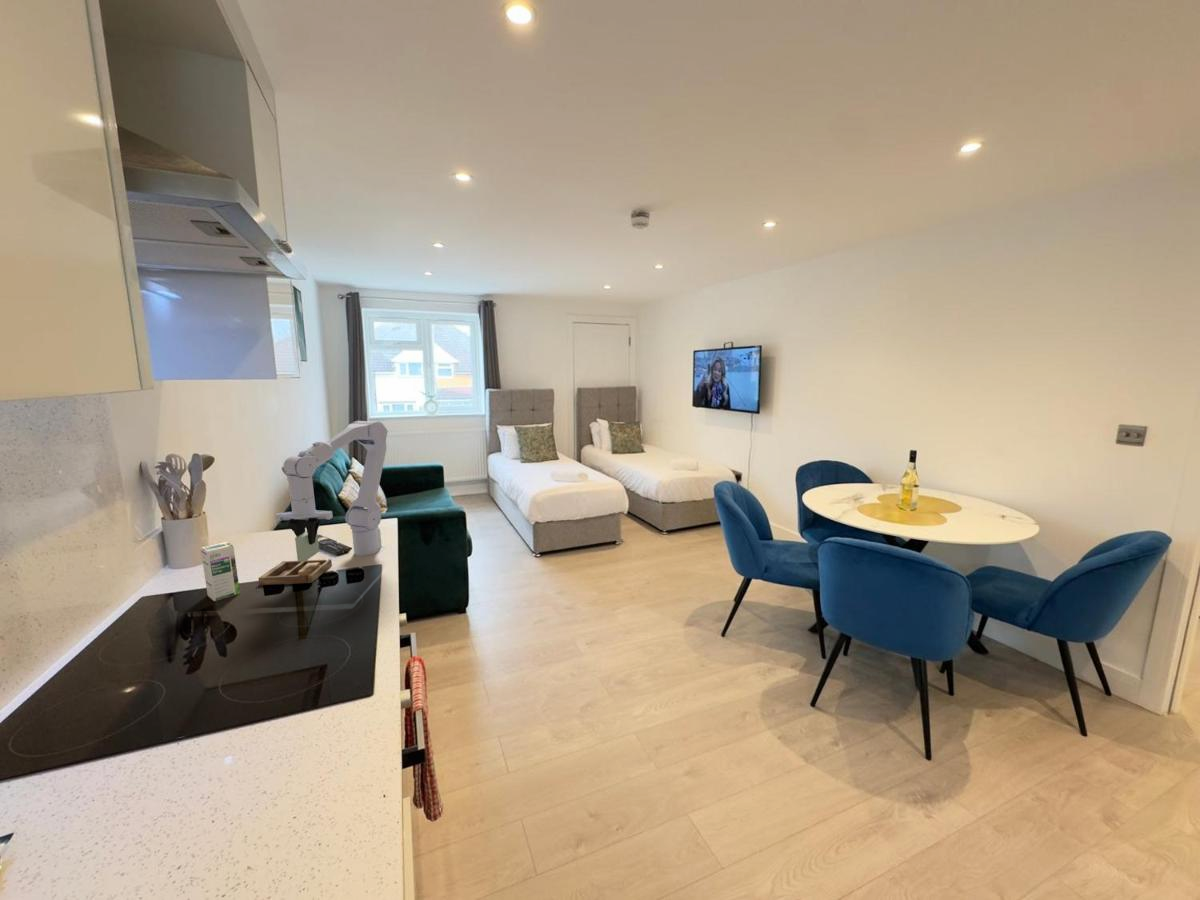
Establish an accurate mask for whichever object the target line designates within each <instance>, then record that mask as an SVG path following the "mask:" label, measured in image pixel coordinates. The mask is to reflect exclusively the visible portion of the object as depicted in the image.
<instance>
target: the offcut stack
mask: <svg viewBox="0 0 1200 900" xmlns="http://www.w3.org/2000/svg"><path fill="white" fill-rule="evenodd" d="M320 566H321V565H320V562H317V563H307V564H306V565H305V566H304V567H303V568H302V569H301V570H299V571H298V575H307V577H308V576H309V575H310V574H311V573H313V572H314V571H315V570H316V569H317V568H319V567H320ZM308 579H309V577H308Z"/></svg>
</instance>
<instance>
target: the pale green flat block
mask: <svg viewBox="0 0 1200 900" xmlns="http://www.w3.org/2000/svg"><path fill="white" fill-rule="evenodd" d="M294 541H295V550H296V558H297V561H298V562H305V561H307V560H310V559H311V558H313V556H315V555H317V554H318V553H319V552H320V543H319V535H318V533H317V534H316V540H315V543H313V544H312V545H309V541H308V533H307V530H305V532H304V533H303V534H301V535H299V536H298V537H294Z"/></svg>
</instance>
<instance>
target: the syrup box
mask: <svg viewBox="0 0 1200 900" xmlns="http://www.w3.org/2000/svg"><path fill="white" fill-rule="evenodd" d="M199 549H200V555H201V561H202V562H201V563H202V567H203V573H204V580H205V586H206V593H207V596H208V598H210V599H211V600H212V601H213V602H217V601H221V600H223V599H226V598H230V597H232V596H236V595H239V594H241V589H240V582H239V577H238V570H237V569H238V568H237V562H236V555H235V548H234V545H233V544H231V542H228V541H224V542H221V543H216V544H211V545H207V546H202V547H201V548H199Z"/></svg>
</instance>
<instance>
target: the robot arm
mask: <svg viewBox="0 0 1200 900" xmlns="http://www.w3.org/2000/svg"><path fill="white" fill-rule="evenodd" d="M388 433H389V432H388V429H387V428H386V426H385V425H384V423H383V422H382V421H378V420H376V421H370V420H369V421H365V420H355V421H353V422H352V423H349V424H348V425H347V426H346V428H344V429H343V430H342V431H341V432H339V433H337V434H336V435H334V436H333V437H332V438H330V439H329V440H328V441H315V442H313V443H312V446H310V447H309V448H307V449H306V450H301V451H299V452H298V454H297V455H292V456H289V457H288V458H286V460H285V461H284V462H283V467H281V471H282V472H283V474H284V475H285V476H286V477H287V479H286V480H287V481H288V488H289V498H290V506H291V511H286V512H278V513H276V514H275V520H276V522H281V521H289V522H288V523H287V526H288V528H290V529H291V531H292V532H293V533H294V535H295V536H296V537H298V536H299V535H301V534H303V533H304V532H306V531H307V533H308V541H309V545H312V544H313V543H315V540H316V534H318V530H319V526H320V524H321V523H322V520H331V519H332V518H333V517H334V516H333V511H332V510H317V509H316V501H315V494H314V493H315V492H314V484H313V483H314V481H313V476H314V474H315V473H316V470H317V468H318V467H320V466H321V465H323V464H325V463H326V462H327V461H329V460H330V459H332V458H333V457H334V454H335V452H336V451H337V450H340V449H341V448H343V447H344V446H347V445H348V444H350V443H352V442H354V441H357V442H358V443H359V444H360V445H361V446H363V447H364V448H365V450H366V451H367V453H366V456H365V461H364V467H363V471H362V477H361V479H360V485H359V491H358V493H357V498H356V499H354V500H353V501H352V502H350V506H349V508H348V510H347V511H346V513H345V519H344V520H345V522H346V524H347V525H348V526H349V527H350V530H351V534H352V545H353V554H354V555H355V556H357V557H358V556H359V557H363V556H364V557H365V556H370V555H374V554H376V553H377V552H379V549H385V546H384V545H383V546H382V537H381V535H382V533H381V529H380V528H379V525H380V524H381V521H382V515H381V509H382V506H381V505H380V503H378V501H377V496H378V491H379V487H380V484H381V483H380V482H381V478H382V473H383V469H384V468H383V467H384V462H385V459H386V458H385V457H386V453H387V437H388ZM296 537H295V538H296Z"/></svg>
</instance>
